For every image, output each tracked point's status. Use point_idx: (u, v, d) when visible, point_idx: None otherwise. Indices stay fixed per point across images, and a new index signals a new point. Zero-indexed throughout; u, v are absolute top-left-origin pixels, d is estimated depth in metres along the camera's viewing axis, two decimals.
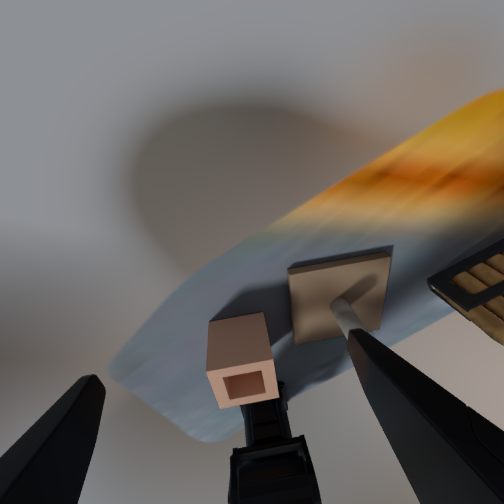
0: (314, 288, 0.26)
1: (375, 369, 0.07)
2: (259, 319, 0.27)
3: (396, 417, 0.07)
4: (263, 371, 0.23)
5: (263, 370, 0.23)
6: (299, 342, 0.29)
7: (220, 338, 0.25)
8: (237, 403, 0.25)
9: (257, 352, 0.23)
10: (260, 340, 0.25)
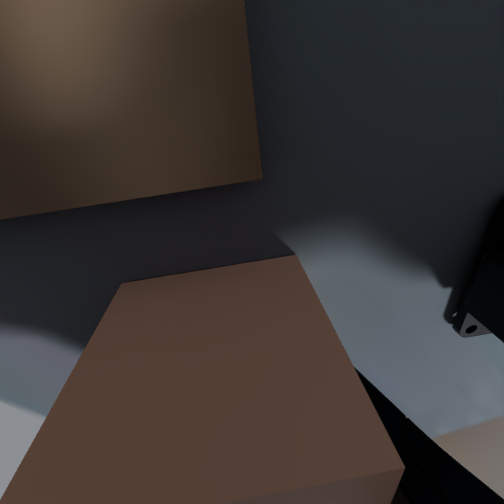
0: None
1: None
2: None
3: None
4: None
5: None
6: (247, 160, 0.06)
7: None
8: None
9: None
10: None
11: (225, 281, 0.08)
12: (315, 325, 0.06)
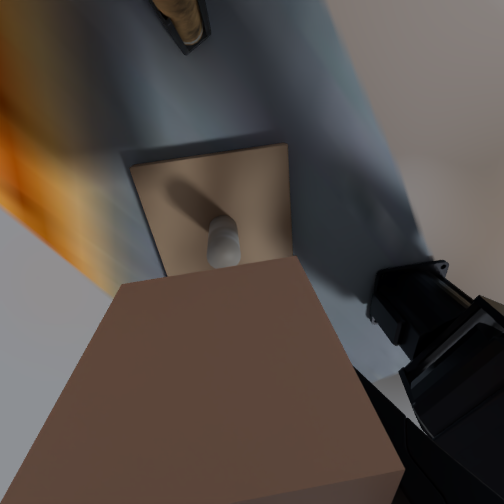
0: (193, 264, 0.20)
1: None
2: None
3: None
4: None
5: None
6: None
7: None
8: None
9: None
10: None
11: (225, 282, 0.08)
12: (315, 326, 0.06)
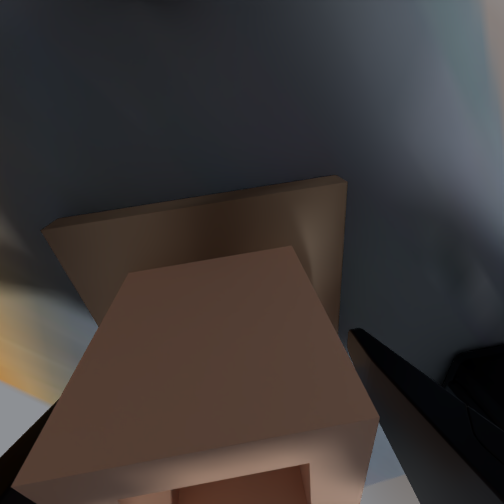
0: None
1: (375, 369, 0.07)
2: None
3: (396, 417, 0.07)
4: (127, 494, 0.05)
5: (118, 495, 0.05)
6: None
7: None
8: None
9: None
10: None
11: (225, 269, 0.09)
12: (307, 306, 0.07)
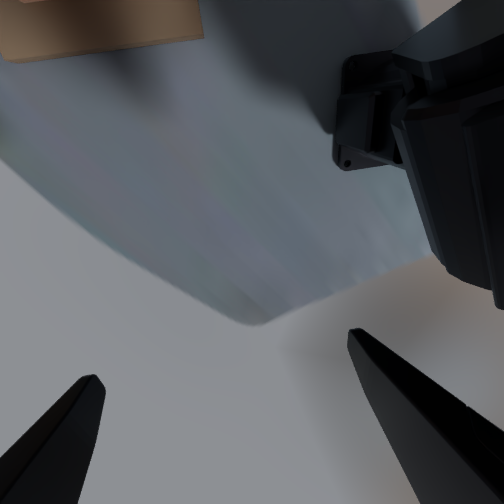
0: None
1: (375, 369, 0.07)
2: None
3: (396, 417, 0.07)
4: None
5: None
6: (194, 21, 0.13)
7: None
8: None
9: None
10: None
11: None
12: None
